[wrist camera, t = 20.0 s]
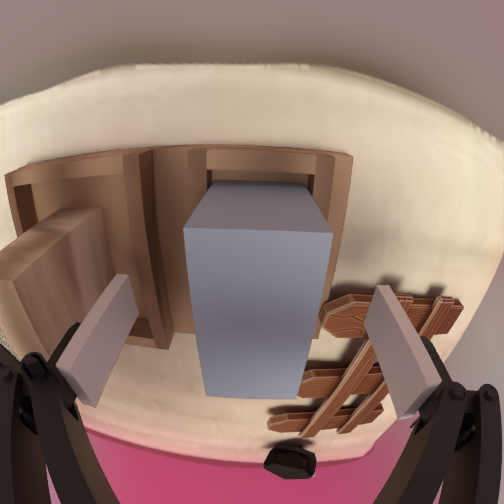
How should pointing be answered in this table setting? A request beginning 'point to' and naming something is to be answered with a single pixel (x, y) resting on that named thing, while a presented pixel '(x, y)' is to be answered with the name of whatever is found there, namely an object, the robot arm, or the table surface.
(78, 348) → the robot arm
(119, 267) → the tray
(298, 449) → the toy
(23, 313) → the wooden block
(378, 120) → the table surface
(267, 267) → the grey rectangular block
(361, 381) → the decorative fence
